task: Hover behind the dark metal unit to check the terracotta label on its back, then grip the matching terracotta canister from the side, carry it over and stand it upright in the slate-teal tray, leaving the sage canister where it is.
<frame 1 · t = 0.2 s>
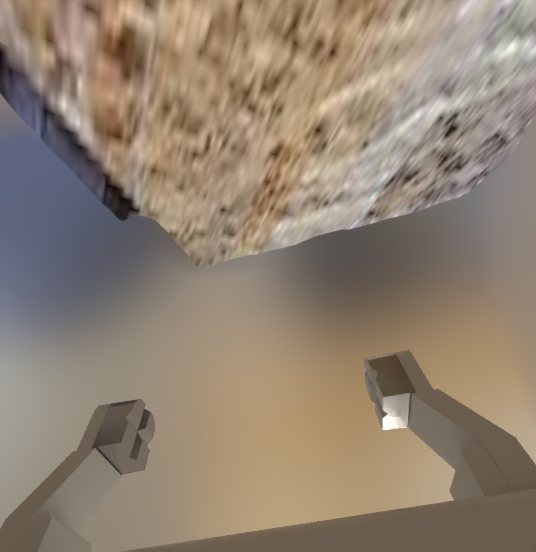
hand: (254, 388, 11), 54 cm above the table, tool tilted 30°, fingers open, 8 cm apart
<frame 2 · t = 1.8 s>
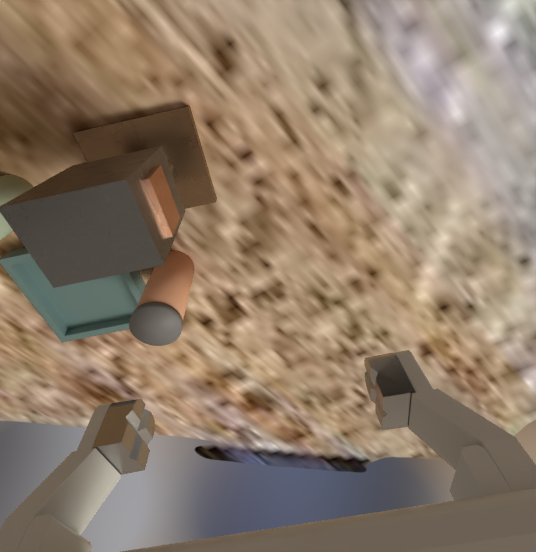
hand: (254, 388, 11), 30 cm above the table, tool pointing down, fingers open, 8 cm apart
unit: (152, 167, 35), on the table
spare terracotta: (175, 267, 42), on the table
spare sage: (17, 196, 36), on the table
tray: (90, 284, 43), on the table
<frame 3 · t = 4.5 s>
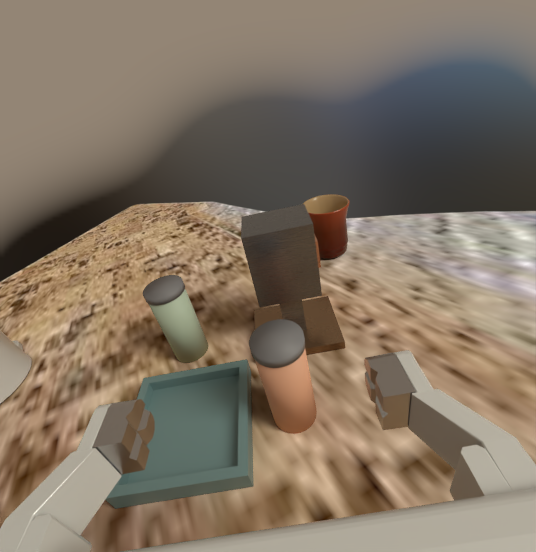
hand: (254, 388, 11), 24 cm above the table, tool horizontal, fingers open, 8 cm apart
unit: (296, 330, 47), on the table
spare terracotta: (294, 412, 36), on the table
mug: (329, 248, 65), on the table
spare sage: (192, 349, 48), on the table
tray: (193, 429, 37), on the table
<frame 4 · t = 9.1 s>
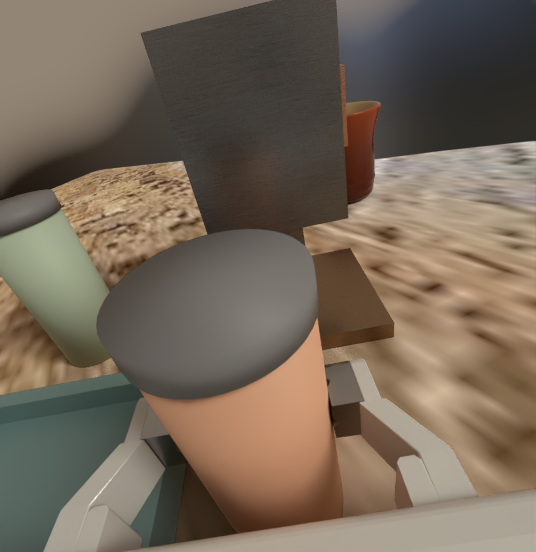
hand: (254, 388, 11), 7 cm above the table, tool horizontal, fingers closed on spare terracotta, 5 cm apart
unit: (292, 305, 25), on the table
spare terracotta: (286, 494, 14), on the table, touching gripper
mug: (344, 192, 43), on the table
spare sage: (101, 342, 26), on the table
tray: (35, 534, 15), on the table
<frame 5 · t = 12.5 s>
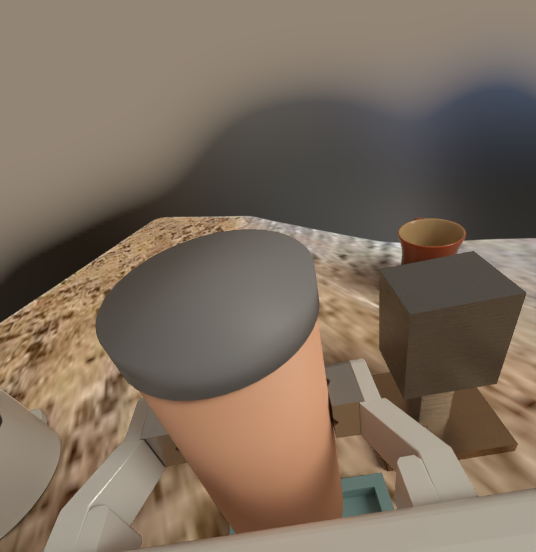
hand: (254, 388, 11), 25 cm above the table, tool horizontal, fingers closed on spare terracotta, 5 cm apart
unit: (425, 413, 34), on the table
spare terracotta: (286, 495, 14), point 18 cm above the table, touching gripper
mug: (422, 283, 52), on the table
when the fingers open (9 cm above the table, at t = 15.7 s): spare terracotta drops 2 cm, resting on tray.
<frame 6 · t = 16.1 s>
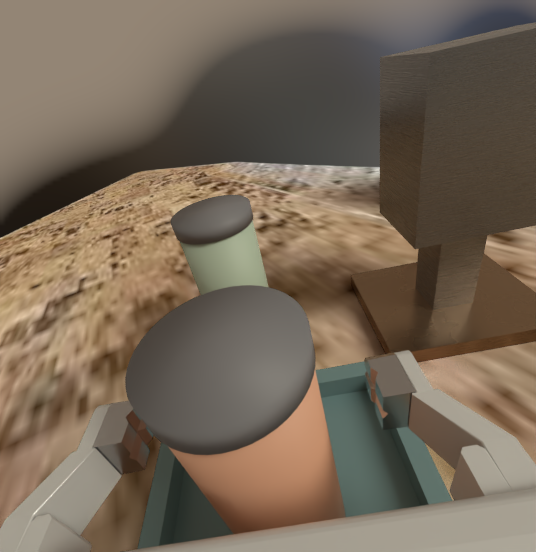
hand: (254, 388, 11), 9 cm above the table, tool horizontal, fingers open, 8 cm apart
unit: (441, 305, 26), on the table
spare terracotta: (293, 514, 15), point 1 cm above the table, touching tray
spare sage: (251, 341, 27), on the table
tray: (295, 520, 16), on the table
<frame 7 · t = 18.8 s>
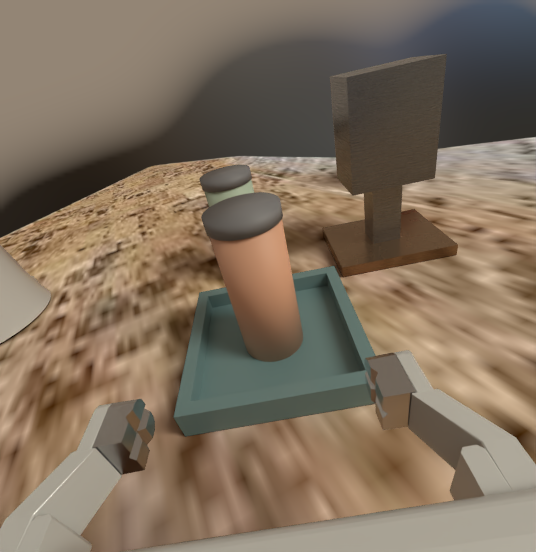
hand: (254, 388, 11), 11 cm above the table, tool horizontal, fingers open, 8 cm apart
unit: (381, 244, 37), on the table
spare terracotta: (274, 338, 27), point 1 cm above the table, touching tray
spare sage: (251, 270, 38), on the table
tray: (275, 345, 27), on the table
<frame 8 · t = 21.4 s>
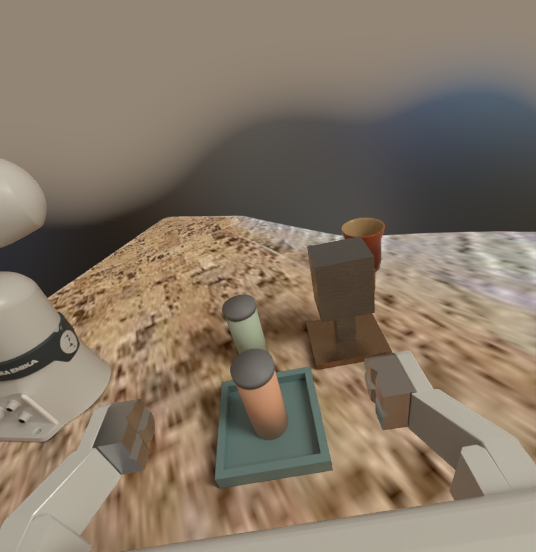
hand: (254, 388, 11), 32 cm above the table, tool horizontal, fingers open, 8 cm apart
unit: (345, 340, 54), on the table
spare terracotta: (270, 422, 44), point 1 cm above the table, touching tray
mug: (363, 264, 72), on the table
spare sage: (255, 357, 55), on the table
tray: (271, 425, 44), on the table
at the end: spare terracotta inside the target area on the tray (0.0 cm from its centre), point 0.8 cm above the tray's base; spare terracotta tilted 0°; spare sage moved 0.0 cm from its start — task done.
